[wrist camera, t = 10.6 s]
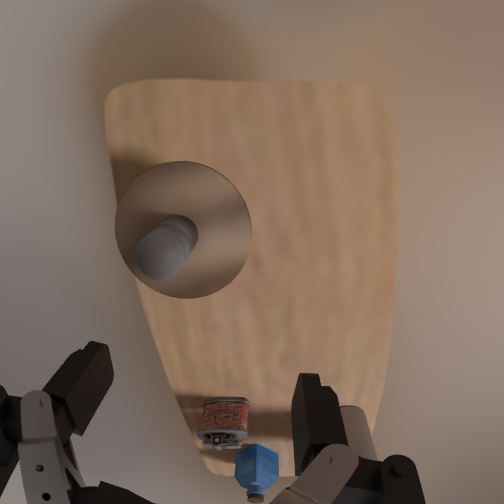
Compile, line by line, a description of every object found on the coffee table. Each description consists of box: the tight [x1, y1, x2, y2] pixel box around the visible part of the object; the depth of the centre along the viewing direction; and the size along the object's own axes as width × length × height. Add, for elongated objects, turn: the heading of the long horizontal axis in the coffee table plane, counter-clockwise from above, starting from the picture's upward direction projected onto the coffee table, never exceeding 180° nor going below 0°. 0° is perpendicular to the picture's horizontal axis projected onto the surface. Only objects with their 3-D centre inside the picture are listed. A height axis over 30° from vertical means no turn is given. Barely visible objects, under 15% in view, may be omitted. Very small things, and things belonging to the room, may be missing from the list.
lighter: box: [197, 397, 250, 451], centre depth 43 cm, size 8×3×10 cm, turn 100°
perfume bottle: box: [235, 444, 279, 503], centre depth 48 cm, size 6×6×12 cm
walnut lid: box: [115, 161, 251, 299], centre depth 24 cm, size 13×13×7 cm
